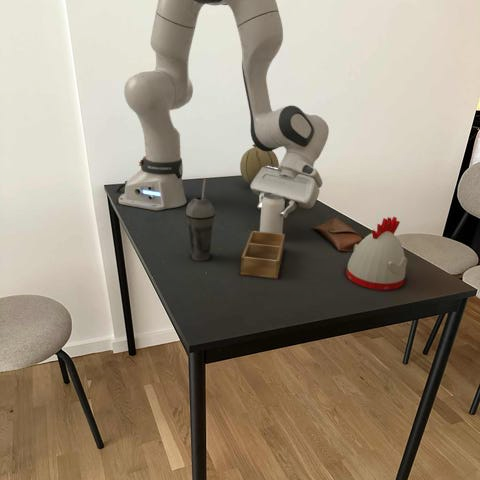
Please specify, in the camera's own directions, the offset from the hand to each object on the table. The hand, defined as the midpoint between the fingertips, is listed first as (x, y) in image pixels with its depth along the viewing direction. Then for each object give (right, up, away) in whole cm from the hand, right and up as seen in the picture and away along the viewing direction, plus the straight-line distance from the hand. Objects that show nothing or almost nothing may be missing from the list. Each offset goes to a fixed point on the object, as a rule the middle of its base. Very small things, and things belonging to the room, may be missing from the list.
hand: (271, 212), depth 128 cm
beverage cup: (-19, -14, -9) cm, 25 cm away
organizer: (-3, -15, -10) cm, 18 cm away
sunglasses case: (+20, -7, +5) cm, 21 cm away
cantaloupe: (-2, +20, +46) cm, 50 cm away
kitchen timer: (+25, -19, -15) cm, 35 cm away
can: (0, -6, +4) cm, 7 cm away
